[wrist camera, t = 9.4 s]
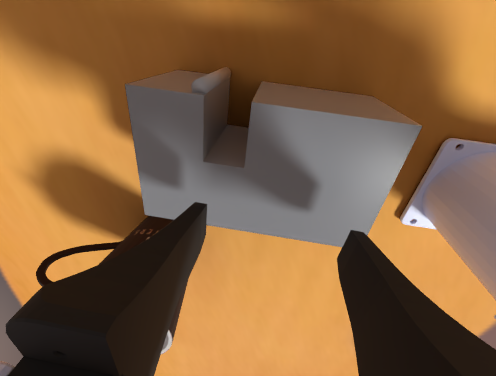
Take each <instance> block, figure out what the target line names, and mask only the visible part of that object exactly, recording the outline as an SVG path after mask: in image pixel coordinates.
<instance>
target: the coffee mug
mask: <svg viewBox="0 0 496 376" xmlns="http://www.w3.org/2000/svg"><path fill="white" fill-rule="evenodd" d="M172 221H173V219H167V218H161V217H155V216H149V217H147V218H146V219H145V220H144V221H143V222H142V223H141V224H140V225H139V226H138V227H137V228H136V229H135V230H134V231H133V232H131V233H130V234H129V235H128V236H127V237H126V238H125V239H124V240H123V241H121V242H115V243H104V244H94V245H85V246H79V247H75V248H70V249H66V250H63V251H60V252H57V253H55V254H53V255H51V256H49V257H48V258H46V259H45V260H44V261H43V262H42V263H41V265H40V266H39V267H38V269H37V271H36V276H37V280H38V282H39V284H40V285H41V286H42V287H43V286H44V285H47V284H50V283H53V282H52V281H50V280H49V279H48V278H47V277H46V274H45V273H46V270H47V268H48V267H49V265H50V264H52V263H53V262H54V261H56V260H58V259H60V258H62V257H66V256H69V255H72V254H75V253H81V252H89V251H98V250H108V249H114V250H113V251H112V252H111V253H110V254H109V255H108V256H107V257H106V258H105V259H104V260H103V261H102V262H101V263H100V264H102V263H104V262H106V261H108V260H111V259H113V258H115V257H116V256H118V255H120V254H122V253H124V252H126V251H128V250H130V249H132V248H134V247H135V246H137V245H139V244H140V243H142V242H144V241H145V240H147V239H148V238H150V237H151V236H153V235H154V234H156V233H157V232H158V231H160V230H161V229H163V228H164V227H165V226H167V225H168V224H169V223H170V222H172ZM100 264H99V265H100ZM187 282H188V280H187ZM187 282H186V284H185V286H184V289H183V291H182V293H181V296H180V298H179V301H178V304H177V306H176V309H175V312H174V315H173V318H172V321H171V324H170V327H169V330H168V333H167V336H166V339H165V342H164V345H163V348H162V351H161V354H163V353H165V352H166V351H167V350H169V348H170V347H171V345H172V341H173V337H174V334H175V330H176V326H177V322H178V318H179V314H180V310H181V306H182V302H183V298H184V294H185V290H186V286H187Z"/></svg>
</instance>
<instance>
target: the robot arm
mask: <svg viewBox="0 0 496 376" xmlns="http://www.w3.org/2000/svg"><path fill="white" fill-rule="evenodd" d="M458 144H460V146H459V147H458V148H456V146H457V145H458ZM455 148H456V149H455ZM413 219H414V220H413ZM411 220H413V221H411ZM206 221H207V204H204V203H199V202H195V203H193V204H192V205H191V206H190V207H189V208H187V209H186V210H185V211H184V212H183V213H182V214H180V215H179V216H178V217H177V218H176V219H174V220H173V221H172V222H170V223H169V224H168V225H167V226H165V227H164V228H163V229H161V230H160V231H158V232H157V233H156V234H154V235H153V236H151V237H150V238H148V239H147V240H145V241H144V242H142V243H140V244H139V245H137V246H135V247H134V248H132V249H130V250H128V251H126V252H124V253H122V254H120V255H118V256H116V257H115V258H113V259H111V260H108V261H106V262H104V263H102V264H100V265H97V266H95V267H93V268H90V269H88V270H85V271H83V272H80V273H78V274H75V275H72V276H70V277H67V278H64V279H61V280H58V281H56V282H53V283H50V284H47V285H44V286H43V287H42V288H41V289H40V290H39V291H38V292H37V293H36V294H35V295H33V296H32V298H31V299H30V300H29V301H28V302H27V303H26V304H25V305H24V306H23V307H22V308H21V309H20V310H19V311H18V312H17V313H16V314H15V315H14V316H13V317H12V318H11V319H10V320H9V321H8V323H7V324H6V333H7V335H8V337H9V338H10V340H11V341H12V342H13V344H14V345H15V346H16V347H17V349H18V350H19V351H20V352H21V353H22V355H23V356H24V357H23V358H22V359H21V360H20V362H19V363H18V364H17V365H16V367H14V366H12V365H10V364H8V363H5V362H2V361H0V376H154V374H155V370H156V367H157V364H158V361H159V358H160V354H161V351H162V348H163V345H164V342H165V339H166V336H167V333H168V330H169V327H170V324H171V321H172V318H173V315H174V312H175V309H176V306H177V304H178V301H179V298H180V296H181V293H182V291H183V289H184V286H185V284H186V282H187V280H188V278H189V275H190V273H191V271H192V269H193V267H194V265H195V262H196V260H197V258H198V256H199V254H200V251H201V248H202V245H203V242H204V239H205V235H206ZM400 221H401V222H402V223H403V224H405V225H411V226H418V227H424V228H430V229H437V230H438V231H439V233H440V234H441V235H442V236H443V237H444V239H445V240H446V241H447V242H448V243H449V245H450V246H451V247H452V248H453V249H454V251H455V252H456V253H457V254H458V255H459V257H460V258H461V259H462V260H463V261H464V263H465V264H466V265H467V266H468V267H469V269H470V270H471V271H472V272H473V273H474V275H475V276H476V277H477V278H478V280H479V281H480V282H481V283H482V284H483V286H484V287H485V288H486V289H487V290H488V292H489V293H490V294H491V295H492V296H493V298H494V299H495V300H496V144H492V143H485V142H478V141H471V140H464V139H457V138H449V139H447V140H446V141H444V143H443V144H442V146H441V147H440V149H439V151H438V153H437V154H436V156H435V158H434V160H433V161H432V163H431V165H430V166H429V168H428V170H427V172H426V173H425V175H424V177H423V179H422V180H421V182H420V184H419V186H418V187H417V189H416V191H415V193H414V194H413V196H412V198H411V200H410V201H409V203H408V205H407V207H406V208H405V210H404V212H403V214H402V215H401V217H400ZM337 262H338V272H339V279H340V283H341V287H342V291H343V295H344V299H345V303H346V307H347V311H348V315H349V318H350V322H351V327H352V332H353V337H354V344H355V350H356V357H357V365H358V373H359V376H496V350H495V349H494V348H492V347H491V346H490V345H488V344H486V343H485V342H484V341H482V340H481V339H480V338H478V337H477V336H475V335H474V334H473V333H471V332H470V331H469V330H467V329H466V328H465V327H463V326H462V325H461V324H459V323H458V322H457V321H456V320H454V319H453V318H452V317H450V316H449V315H448V314H447V313H445V312H444V311H443V310H442V309H440V308H439V307H438V306H437V305H436V304H435V303H433V302H432V301H431V300H430V299H429V298H428V297H427V296H425V295H424V294H423V293H422V292H421V291H420V290H419V289H418V288H417V287H416V286H415V285H413V284H412V283H411V282H410V281H409V280H408V279H407V278H406V277H405V276H404V275H403V274H402V273H401V272H400V271H399V270H398V269H397V268H396V267H395V266H394V264H393V263H392V262H391V261H390V260H389V259H388V258H387V257H386V256H385V255H384V254H383V253H382V252H381V250H380V249H379V248H378V247H377V246H376V245H375V244H374V243H373V242H372V241H371V240H370V238H369V237H368V236H367V235H366V234H365V233H364V232H360V231H354V230H351V231H350V233H349V235H348V237H347V239H346V241H345V243H344V245H343V247H342V249H341V251H340V253H339V256H338V258H337ZM494 318H495V319H496V315H495V316H494Z"/></svg>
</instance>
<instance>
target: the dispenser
mask: <svg viewBox="0 0 496 376" xmlns="http://www.w3.org/2000/svg"><path fill="white" fill-rule="evenodd" d="M230 76H231V70H230V69H229V68H228V67H223V68H221V69H219V70H216V71H214V72H212V73H210V74H206V73H198V72H191V71H184V70H175V71H172V72H168V73H164V74H161V75H157V76H153V77H150V78H146V79H142V80H139V81H135V82H131V83H128V84H125V88H126V95H127V101H128V108H129V114H130V121H131V127H132V134H133V140H134V147H135V153H136V160H137V166H138V173H139V180H140V186H141V193H142V199H143V206H144V212H145V215H149V216H155V217H161V218H167V219H173V220H174V219H176V218H177V217H178V216H179V215H180V214H182V213H183V212H184V211H185V210H186V209H187V208H189V207H190V206H191V205H192V204H193V203H195V202H199V203H204V204H207V221H206V225H210V226H216V227H222V228H228V229H234V230H240V231H247V232H253V233H259V234H265V235H271V236H277V237H283V238H289V239H295V240H301V241H308V242H314V243H320V244H326V245H332V246H338V247H343V245H344V243H345V241H346V239H347V237H348V235H349V233H350V231H351V230H354V231H360V232H364V233H365V234H366V235H368V233H369V231H370V229H371V227H372V225H373V223H374V221H375V219H376V217H377V215H378V213H379V211H380V209H381V207H382V205H383V203H384V201H385V199H386V197H387V195H388V193H389V191H390V189H391V187H392V185H393V183H394V181H395V180H396V178H397V176H398V174H399V172H400V170H401V168H402V166H403V164H404V162H405V160H406V158H407V156H408V154H409V152H410V150H411V148H412V146H413V144H414V142H415V140H416V138H417V136H418V134H419V132H420V130H421V128H422V125H420V124H418V123H417V122H415V121H413V120H412V119H410V118H408V117H407V116H405V115H403V114H402V113H400V112H398V111H396V110H395V109H393V108H391V107H390V106H388V105H386V104H385V103H383V102H381V101H380V100H378V99H376V98H375V97H373V96H367V95H360V94H352V93H345V92H338V91H330V90H323V89H316V88H308V87H301V86H294V85H286V84H279V83H272V82H264V81H262V82H261V84H260V86H259V88H258V90H257V92H256V94H255V96H254V98H253V101H252V104H251V113H250V122H249V128H247V127H241V126H234V125H227V121H228V105H229V90H230Z"/></svg>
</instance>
